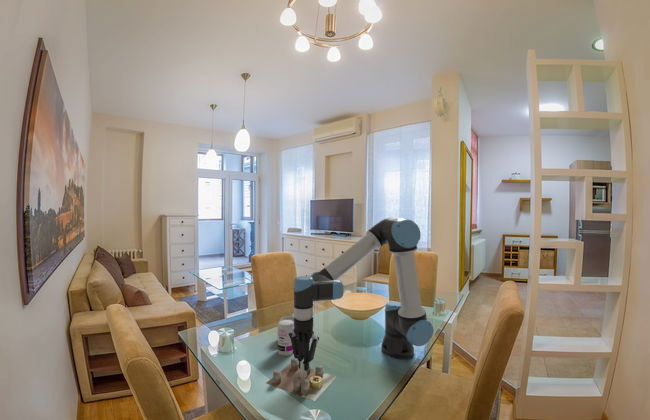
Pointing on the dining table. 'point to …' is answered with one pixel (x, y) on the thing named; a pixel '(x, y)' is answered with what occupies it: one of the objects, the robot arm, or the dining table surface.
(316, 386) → the brass nut
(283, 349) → the supplement can
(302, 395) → the board
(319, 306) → the dining table surface
